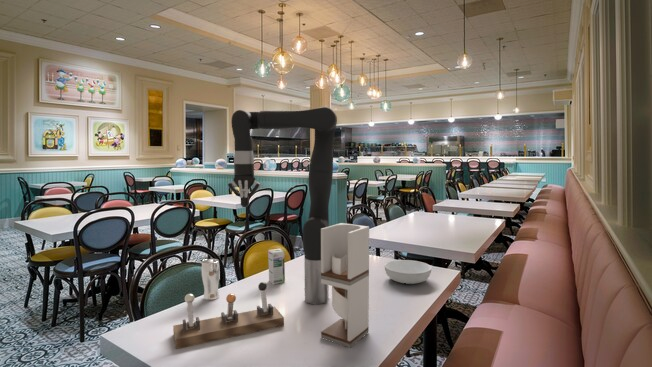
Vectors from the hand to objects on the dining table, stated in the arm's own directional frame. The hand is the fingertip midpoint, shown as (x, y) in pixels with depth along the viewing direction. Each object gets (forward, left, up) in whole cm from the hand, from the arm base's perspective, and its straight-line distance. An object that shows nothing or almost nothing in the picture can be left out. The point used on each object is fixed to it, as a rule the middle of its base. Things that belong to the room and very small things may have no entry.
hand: (245, 206), depth 149 cm
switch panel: (-2, +27, -37) cm, 46 cm away
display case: (-40, +28, -37) cm, 61 cm away
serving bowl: (-67, -25, -37) cm, 81 cm away
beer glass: (+15, 0, -37) cm, 40 cm away
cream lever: (+8, +33, -34) cm, 48 cm away
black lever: (-13, +21, -34) cm, 42 cm away
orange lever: (-2, +27, -34) cm, 43 cm away
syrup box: (-8, -20, -37) cm, 43 cm away
